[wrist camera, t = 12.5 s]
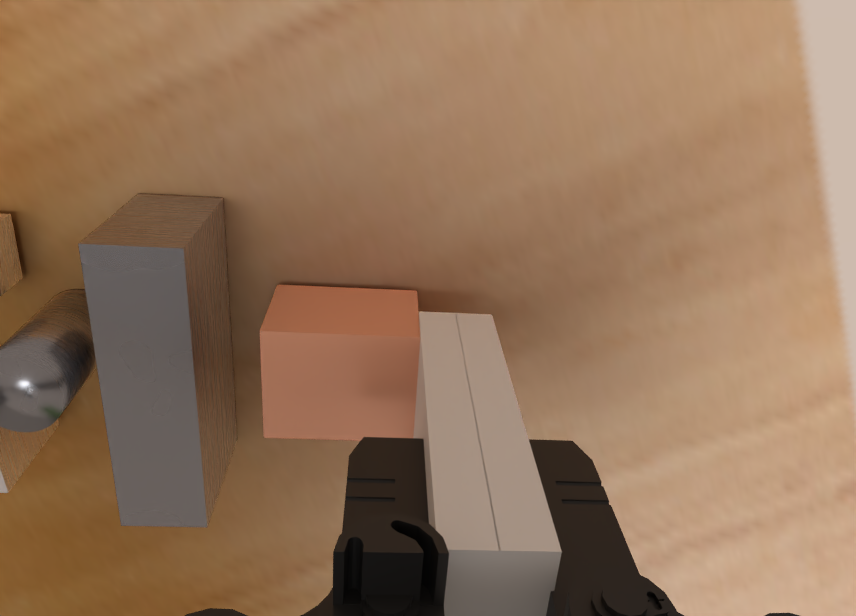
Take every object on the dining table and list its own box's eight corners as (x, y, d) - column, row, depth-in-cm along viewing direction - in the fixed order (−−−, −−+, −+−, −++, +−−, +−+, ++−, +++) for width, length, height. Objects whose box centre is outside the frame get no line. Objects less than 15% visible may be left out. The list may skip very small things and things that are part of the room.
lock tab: (279, 381, 16) (263, 438, 14) (277, 284, 15) (259, 331, 13) (411, 385, 16) (413, 442, 14) (416, 290, 15) (420, 337, 13)
